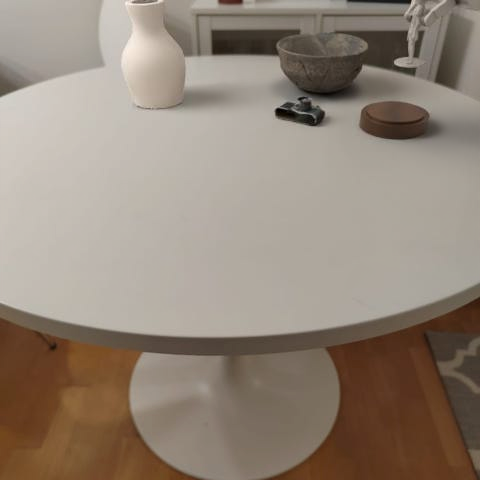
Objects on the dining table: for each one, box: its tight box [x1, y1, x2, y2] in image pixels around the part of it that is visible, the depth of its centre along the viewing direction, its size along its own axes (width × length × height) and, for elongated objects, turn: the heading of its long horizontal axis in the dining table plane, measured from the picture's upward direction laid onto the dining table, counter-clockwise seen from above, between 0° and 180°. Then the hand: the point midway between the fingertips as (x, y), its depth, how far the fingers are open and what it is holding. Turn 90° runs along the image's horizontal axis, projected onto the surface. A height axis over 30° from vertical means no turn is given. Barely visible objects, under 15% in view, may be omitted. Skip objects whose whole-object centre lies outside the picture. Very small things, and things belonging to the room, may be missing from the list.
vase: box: [120, 0, 187, 110], centre depth 100 cm, size 14×14×20 cm
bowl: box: [275, 31, 369, 94], centre depth 106 cm, size 21×21×10 cm
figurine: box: [393, 0, 427, 69], centre depth 76 cm, size 5×5×12 cm
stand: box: [358, 100, 431, 140], centre depth 90 cm, size 13×13×3 cm
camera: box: [274, 95, 326, 126], centre depth 95 cm, size 5×10×4 cm, turn 53°
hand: (416, 22), depth 75 cm, fingers closed on figurine, 2 cm apart
